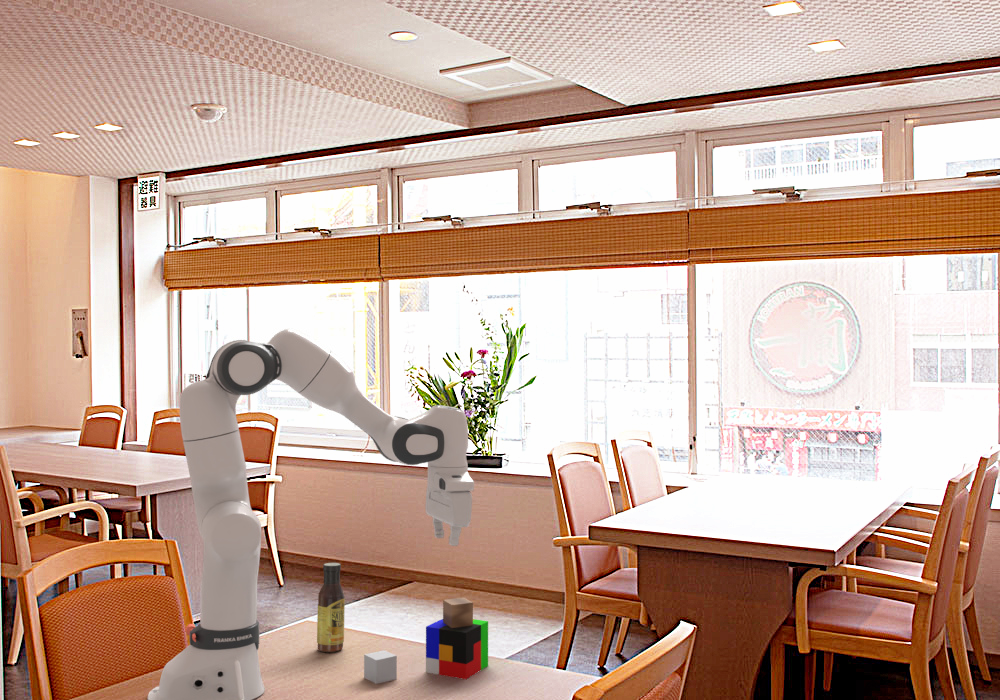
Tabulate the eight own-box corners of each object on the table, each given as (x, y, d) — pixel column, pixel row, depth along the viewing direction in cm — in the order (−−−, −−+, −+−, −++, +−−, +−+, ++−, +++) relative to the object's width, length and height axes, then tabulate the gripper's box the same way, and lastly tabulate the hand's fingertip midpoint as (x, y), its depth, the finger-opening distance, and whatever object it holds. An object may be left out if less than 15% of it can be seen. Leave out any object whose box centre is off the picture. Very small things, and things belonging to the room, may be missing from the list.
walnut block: (451, 628, 205) (451, 605, 205) (443, 622, 209) (443, 599, 209) (472, 625, 207) (472, 602, 207) (463, 619, 211) (463, 597, 212)
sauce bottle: (335, 654, 218) (335, 568, 218) (311, 651, 220) (312, 566, 220) (349, 646, 224) (349, 562, 224) (326, 644, 226) (326, 560, 226)
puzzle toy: (425, 672, 206) (425, 626, 206) (449, 659, 215) (449, 615, 215) (466, 679, 201) (466, 632, 201) (488, 666, 210) (488, 621, 210)
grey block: (376, 684, 198) (376, 660, 198) (364, 678, 202) (364, 654, 202) (396, 679, 202) (396, 655, 202) (384, 673, 205) (384, 650, 205)
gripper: (419, 473, 218) (418, 534, 218) (449, 484, 199) (448, 550, 199) (445, 473, 220) (444, 532, 220) (477, 483, 202) (476, 549, 201)
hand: (446, 541), depth 209 cm, fingers open, 8 cm apart
